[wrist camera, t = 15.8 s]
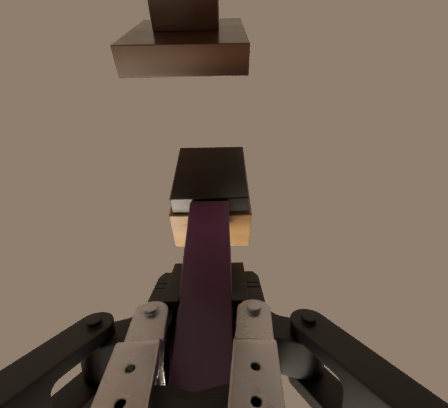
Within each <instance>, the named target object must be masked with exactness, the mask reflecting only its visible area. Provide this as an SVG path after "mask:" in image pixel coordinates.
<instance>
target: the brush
mask: <svg viewBox="0 0 448 408" xmlns="http://www.w3.org/2000/svg"><path fill="white" fill-rule="evenodd" d="M170 203H171V209H170V214H169V218H170V223H171V227H172V231H173V236H174V240H175V245H176V246H185V248H184V256H183V264H182V273H181V281H180V289H179V304H178V308H177V314H176V322H175V331H174V339H173V347H172V355H171V364H170V372H169V380H168V386H169V387H174V388H178V389H182V390H186V391H190V392H197V391H201V390H205V389H209V388H212V387H216V386H220V385H224V384H230V374H231V363H232V351H233V340H234V322H233V307H232V296H231V295H232V272H231V248H230V245H249V241H250V229H251V217H252V213H251V205H250V198H249V189H248V182H247V174H246V166H245V160H244V152H243V147H216V148H181V149H180V152H179V156H178V161H177V166H176V171H175V176H174V180H173V185H172V190H171V195H170Z"/></svg>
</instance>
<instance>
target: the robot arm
mask: <svg viewBox="0 0 448 408" xmlns="http://www.w3.org/2000/svg"><path fill="white" fill-rule="evenodd" d="M231 272H232V295H231V296H232V307H233V322H234V340H233V351H232V363H231V374H230V384H224V385H220V386H216V387H212V388H209V389H205V390H201V391H197V392H190V391H186V390H182V389H178V388H174V387H169V386H168V380H169V372H170V364H171V355H172V347H173V339H174V331H175V322H176V314H177V308H178V304H179V289H180V281H181V273H182V264H175V266H174V269H173V271H172V273H165V274H163V275H162V276H161V277H160V278H159V279H158V281H157V284H156V286H155V288H154V290H153V292H152V294H151V296H150V299H149V300H148V303H145V304H143V305H141V306H139V307H138V308H137V309H136V310H135V312H134V315H133V317H131V318H129V319H125V320H121V321H116V322H114V319H113V316H112V315H111V314H110V313H106V312H100V313H94V314H91V315H89V316H86V317H85V318H83V319H81V320H80V321H78V322H77V323H75V324H74V325H72V326H70V327H69V328H67V329H66V330H64V331H62V332H61V333H59V334H58V335H56V336H55V337H53V338H51V339H50V340H48V341H47V342H45V343H43V344H42V345H40V346H39V347H37V348H36V349H34V350H32V351H31V352H29V353H28V354H26V355H25V356H23V357H21V358H20V359H18V360H17V361H15V362H13V363H12V364H10V365H9V366H7V367H6V368H4V369H2V370H1V371H0V408H285V402H284V394H283V387H282V379H281V374H282V375H286V376H288V379H289V381H290V383H291V384H292V386H293V387H294V388H295V389H296V390H297V391H298V393H299V394H300V395H301V396H302V397H303V398H304V399H305V400H306V401H307V403H308V404H309V405H310V406H311V407H312V408H448V403H446V402H445V401H443V400H442V399H440V398H439V397H437V396H436V395H435V394H433V393H432V392H431V391H429V390H428V389H426V388H425V387H423V386H422V385H421V384H419V383H418V382H416V381H415V380H413V379H412V378H411V377H409V376H408V375H406V374H405V373H403V372H402V371H401V370H399V369H398V368H396V367H395V366H393V365H392V364H391V363H389V362H388V361H387V360H385V359H384V358H382V357H381V356H379V355H378V354H376V353H375V352H374V351H372V350H371V349H369V348H368V347H367V346H365V345H364V344H362V343H361V342H360V341H358V340H357V339H355V338H354V337H352V336H351V335H350V334H348V333H347V332H345V331H344V330H343V329H341V328H340V327H338V326H337V325H335V324H334V323H333V322H331V321H330V320H328V319H327V318H326V317H324V316H323V315H321V314H320V313H318V312H316V311H313V310H308V309H299V310H296V311H294V312H293V313H292V314H291V317H290V318H288V317H283V316H279V315H276V314H274V313H272V312H271V310H270V307H269V306H268V305H267V304H266V303H265V300H264V297H263V293H262V289H261V285H260V282H259V278H258V276H257V275H256V274H255V273H254V272H253V271H251V272H250V271H246V272H244V267H243V263H231ZM80 362H81V367H82V372H81V373H80V374H79V375H77V376H76V377H75V378H74V379H72V380H71V381H70V382H69V383H68V384H66V385H65V386H64V387H63V388H61V389H60V390H59V391H58V392H57V393H55V394H54V395H53V396H52V397H51V390H52V388H53V386H54V384H55V383H56V382H57V380H58V379H59V378H61V377H62V376H63V375H64V374H66V373H67V372H68V371H70V370H71V369H72V368H73V367H75V366H76V365H77V364H79V363H80ZM324 365H326V366H327V367H328V368H329V369H330V370H331V371H332V372H333V373H334V374H336V376H337V377H338V378H339V380H340V381H339V380H338V379H337V378H336V377H335V376H333V375H332V374H331V373H330V372H329V371H328V370H327V369H326V368H325V367H324Z"/></svg>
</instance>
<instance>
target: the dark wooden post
mask: <svg viewBox="0 0 448 408" xmlns="http://www.w3.org/2000/svg"><path fill="white" fill-rule="evenodd" d="M148 6H149V12H150V18H151V20H143V21H142V22H140V23H139V24H138V25H136V26H135V27H134V28H133V29H131V30H130V31H129V32H128V33H126V34H125V35H123V36H122V37H121V38H120V39H118V40H117V41H116V42H114V43H113V44H112V45H111V50H112V53H113V57H114V60H115V65H116V68H117V72H118V76H119V78H144V77H145V78H147V77H203V76H204V77H206V76H248V73H249V53H250V42H249V40H248V37H247V35H246V32H245V29H244V27H243V24H242V21H241V19H240V18H232V19H219V0H148Z"/></svg>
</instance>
